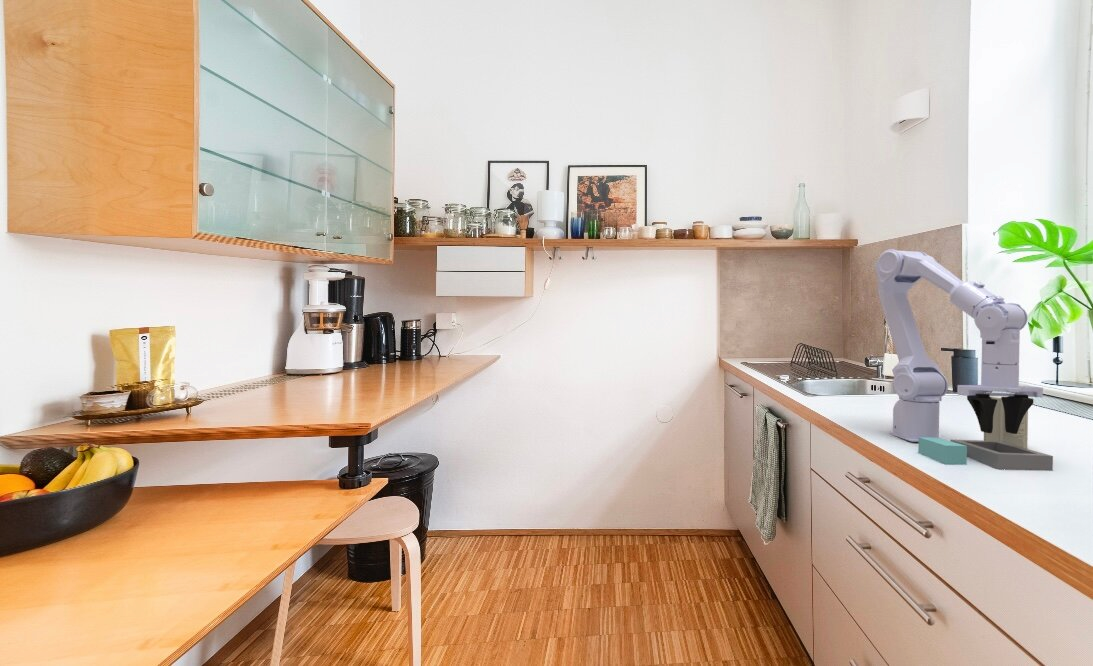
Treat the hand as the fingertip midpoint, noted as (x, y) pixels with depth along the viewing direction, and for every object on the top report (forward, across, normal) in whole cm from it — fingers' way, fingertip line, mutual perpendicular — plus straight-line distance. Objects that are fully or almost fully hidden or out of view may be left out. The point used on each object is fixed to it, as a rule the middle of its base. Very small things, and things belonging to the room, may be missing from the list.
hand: (998, 432), depth 107 cm
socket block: (+6, 0, 0) cm, 6 cm away
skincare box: (+6, +8, +10) cm, 14 cm away
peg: (+6, -10, 0) cm, 12 cm away
